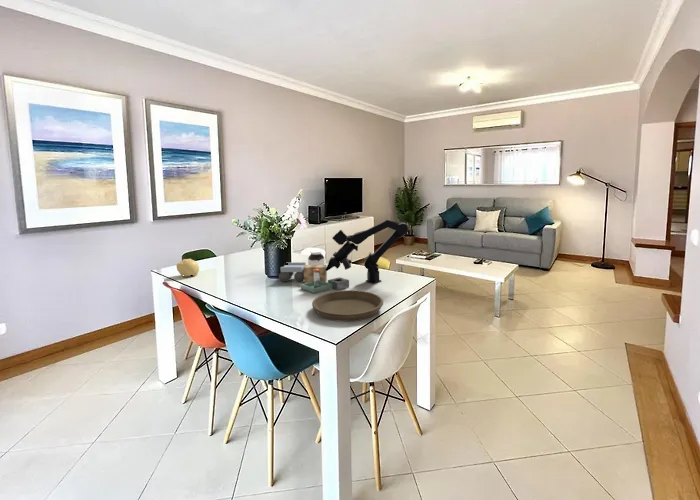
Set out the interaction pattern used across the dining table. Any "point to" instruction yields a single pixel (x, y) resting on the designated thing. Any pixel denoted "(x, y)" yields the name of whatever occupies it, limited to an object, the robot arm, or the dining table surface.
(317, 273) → the pin
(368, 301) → the plant saucer
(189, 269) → the sculpture
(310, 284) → the tray
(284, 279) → the trolley
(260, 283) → the dining table surface
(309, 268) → the block
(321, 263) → the spread jar
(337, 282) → the holder
